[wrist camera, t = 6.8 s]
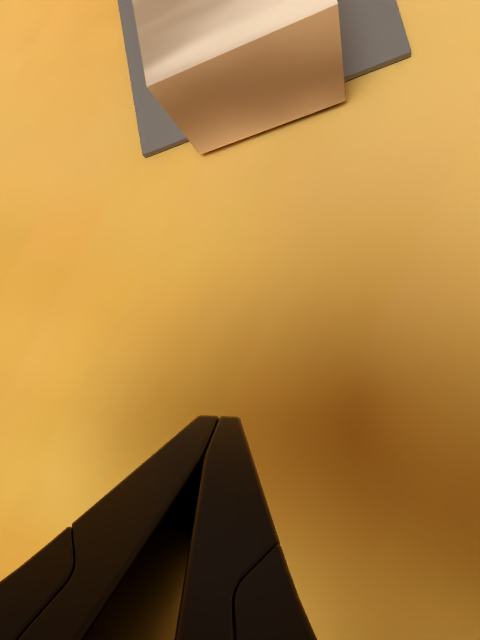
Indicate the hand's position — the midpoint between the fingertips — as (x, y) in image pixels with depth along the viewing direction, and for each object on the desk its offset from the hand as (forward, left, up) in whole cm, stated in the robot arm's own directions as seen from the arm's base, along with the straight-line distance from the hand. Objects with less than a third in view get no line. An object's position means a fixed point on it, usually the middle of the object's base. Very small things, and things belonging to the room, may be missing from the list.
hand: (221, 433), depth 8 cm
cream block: (+8, -10, -6) cm, 14 cm away
